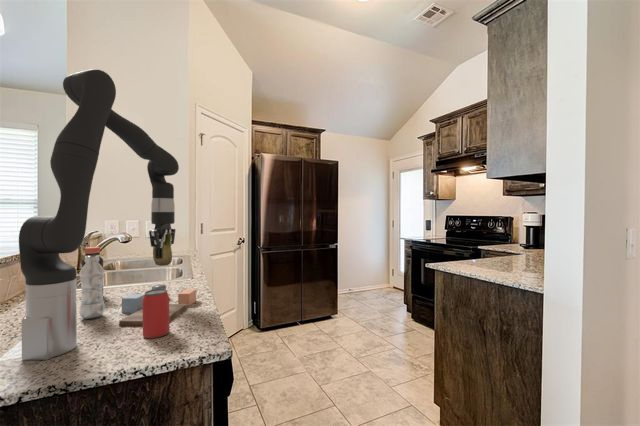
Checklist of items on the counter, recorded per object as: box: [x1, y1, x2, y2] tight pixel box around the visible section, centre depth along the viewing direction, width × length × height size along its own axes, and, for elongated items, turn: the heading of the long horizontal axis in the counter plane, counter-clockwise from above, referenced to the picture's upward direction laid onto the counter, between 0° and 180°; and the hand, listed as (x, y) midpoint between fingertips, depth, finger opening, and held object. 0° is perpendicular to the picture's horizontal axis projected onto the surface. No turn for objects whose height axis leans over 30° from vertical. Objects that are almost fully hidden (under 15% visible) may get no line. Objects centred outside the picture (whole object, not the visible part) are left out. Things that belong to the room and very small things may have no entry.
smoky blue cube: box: [121, 293, 145, 314], centre depth 103 cm, size 5×5×5 cm
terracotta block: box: [177, 288, 197, 307], centre depth 111 cm, size 6×4×4 cm, turn 0°
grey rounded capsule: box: [151, 283, 167, 290], centre depth 117 cm, size 5×5×5 cm
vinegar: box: [81, 246, 104, 293], centre depth 118 cm, size 7×7×20 cm
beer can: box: [142, 288, 170, 339], centre depth 83 cm, size 7×7×12 cm
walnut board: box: [118, 303, 188, 327], centre depth 97 cm, size 16×13×2 cm
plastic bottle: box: [79, 254, 106, 320], centre depth 96 cm, size 6×7×20 cm
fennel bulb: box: [152, 233, 173, 267], centre depth 109 cm, size 6×5×12 cm
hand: (163, 257), depth 109 cm, fingers closed on fennel bulb, 4 cm apart
